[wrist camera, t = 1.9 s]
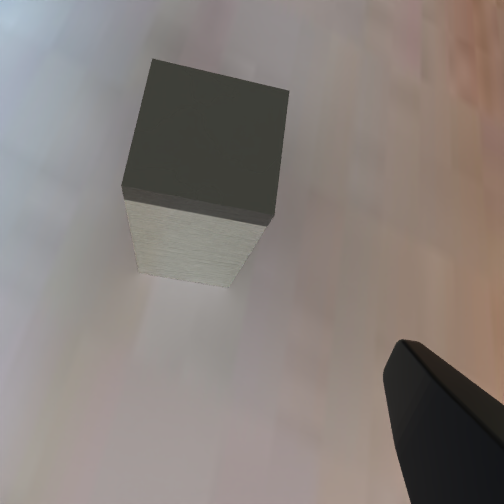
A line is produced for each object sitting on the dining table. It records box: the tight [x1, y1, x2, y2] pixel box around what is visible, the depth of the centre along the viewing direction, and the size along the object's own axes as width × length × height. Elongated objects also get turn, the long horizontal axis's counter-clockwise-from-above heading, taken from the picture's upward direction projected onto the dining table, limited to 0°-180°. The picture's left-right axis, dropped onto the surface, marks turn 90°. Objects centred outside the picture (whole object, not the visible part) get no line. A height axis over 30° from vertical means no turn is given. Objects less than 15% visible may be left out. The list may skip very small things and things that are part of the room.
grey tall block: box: [121, 59, 289, 288], centre depth 19 cm, size 4×4×10 cm
